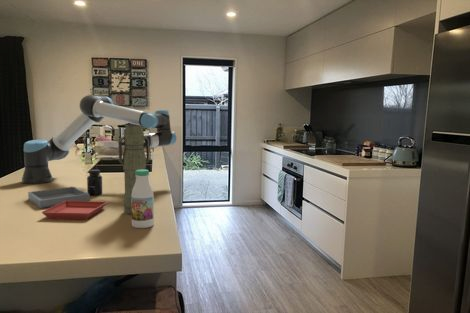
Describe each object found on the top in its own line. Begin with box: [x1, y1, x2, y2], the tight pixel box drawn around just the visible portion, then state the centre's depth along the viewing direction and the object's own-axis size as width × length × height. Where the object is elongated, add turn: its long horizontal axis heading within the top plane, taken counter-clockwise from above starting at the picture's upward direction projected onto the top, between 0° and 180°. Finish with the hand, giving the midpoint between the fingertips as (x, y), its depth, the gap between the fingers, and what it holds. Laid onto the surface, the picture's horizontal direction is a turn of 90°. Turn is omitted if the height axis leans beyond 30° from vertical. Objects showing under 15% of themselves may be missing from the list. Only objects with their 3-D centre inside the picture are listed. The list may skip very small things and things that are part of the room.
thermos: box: [117, 124, 151, 216], centre depth 142 cm, size 9×12×35 cm
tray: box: [27, 186, 91, 210], centre depth 159 cm, size 20×20×4 cm
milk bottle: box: [131, 169, 155, 229], centre depth 125 cm, size 8×8×20 cm
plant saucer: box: [41, 200, 107, 220], centre depth 140 cm, size 18×18×3 cm
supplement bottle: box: [86, 169, 103, 197], centre depth 172 cm, size 7×7×12 cm
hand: (108, 145), depth 176 cm, fingers open, 13 cm apart
